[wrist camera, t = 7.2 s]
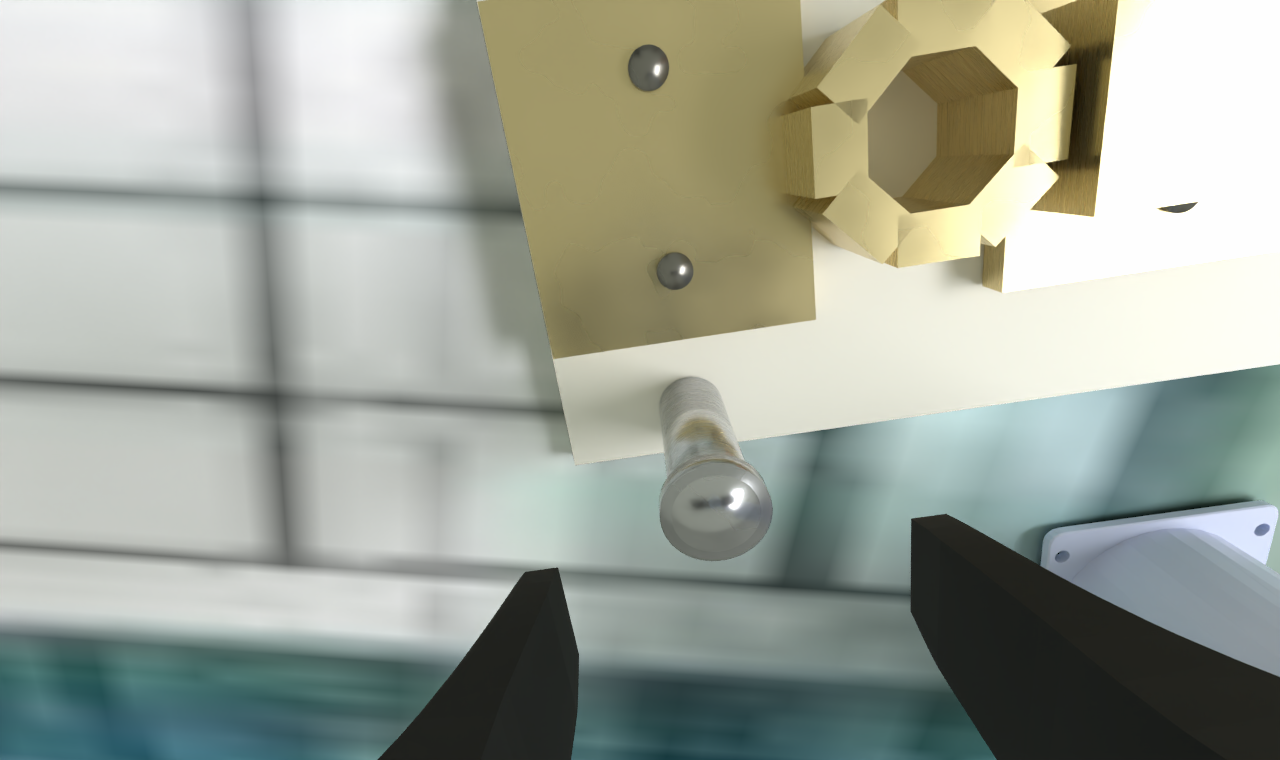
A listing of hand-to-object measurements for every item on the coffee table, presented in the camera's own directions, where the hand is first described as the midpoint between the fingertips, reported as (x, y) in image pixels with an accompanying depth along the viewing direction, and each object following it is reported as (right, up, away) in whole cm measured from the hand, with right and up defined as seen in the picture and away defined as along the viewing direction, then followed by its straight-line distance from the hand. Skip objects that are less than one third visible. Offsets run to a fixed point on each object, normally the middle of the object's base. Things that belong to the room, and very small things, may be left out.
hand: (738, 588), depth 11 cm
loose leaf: (+11, +11, +5) cm, 17 cm away
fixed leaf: (+1, +10, +6) cm, 11 cm away
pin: (0, +3, +8) cm, 9 cm away
